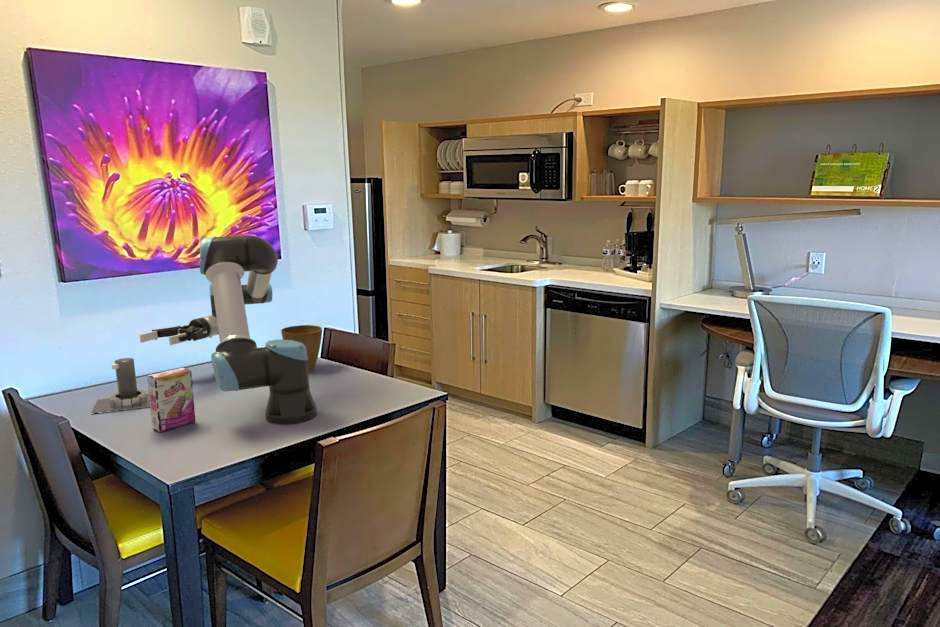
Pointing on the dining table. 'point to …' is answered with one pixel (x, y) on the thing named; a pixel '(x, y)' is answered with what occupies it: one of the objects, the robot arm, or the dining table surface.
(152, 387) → the candy bar box
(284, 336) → the plant pot
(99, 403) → the well
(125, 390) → the grey tall cylinder
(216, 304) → the robot arm
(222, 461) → the dining table surface
